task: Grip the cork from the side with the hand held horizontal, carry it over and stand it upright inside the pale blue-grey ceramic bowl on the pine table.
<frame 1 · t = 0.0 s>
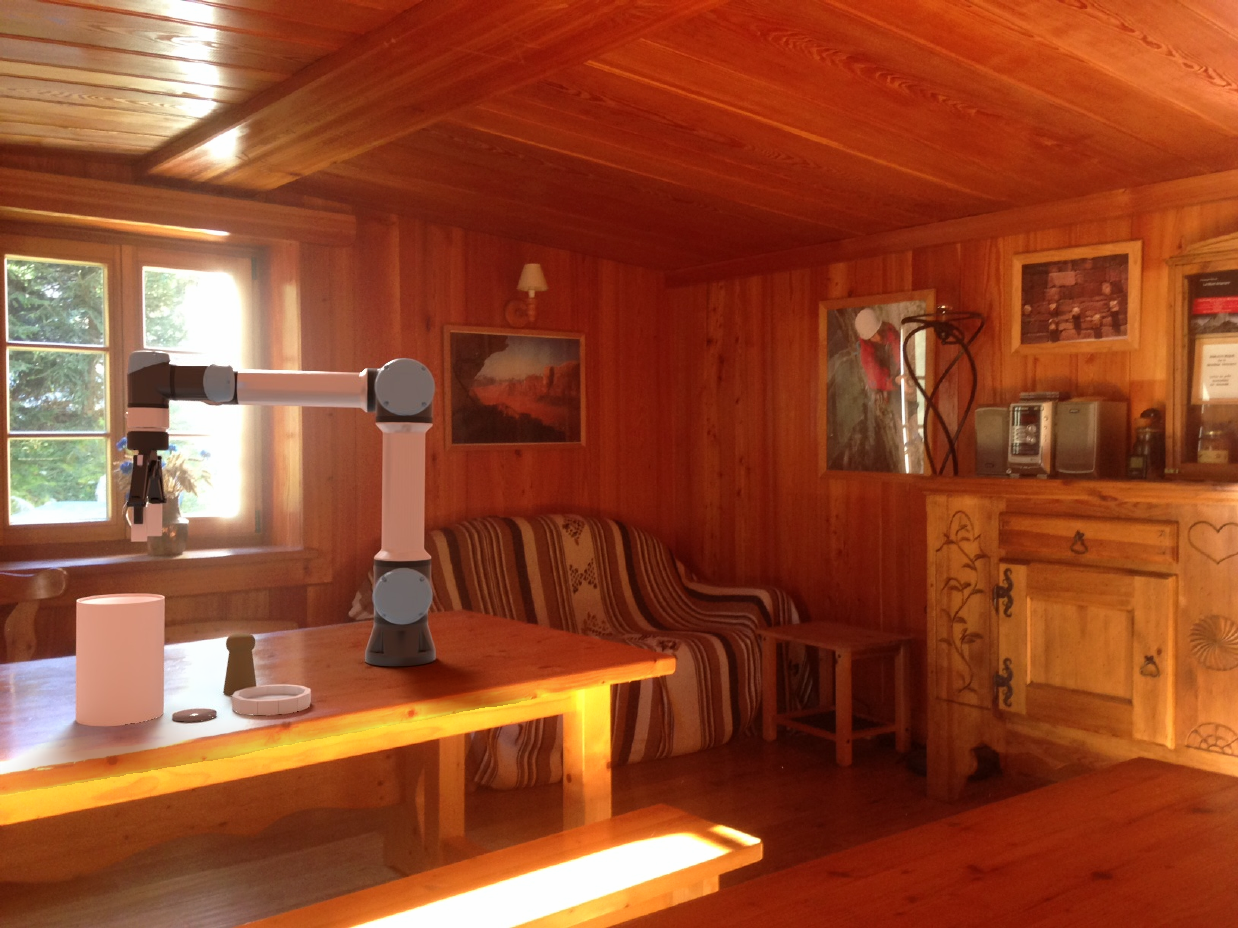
hand: (147, 538, 204), 28 cm above the table, tool pointing down, fingers open, 13 cm apart
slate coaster: (194, 716, 177), on the table
canister: (120, 717, 177), on the table
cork: (240, 692, 196), on the table
bowl: (271, 706, 185), on the table
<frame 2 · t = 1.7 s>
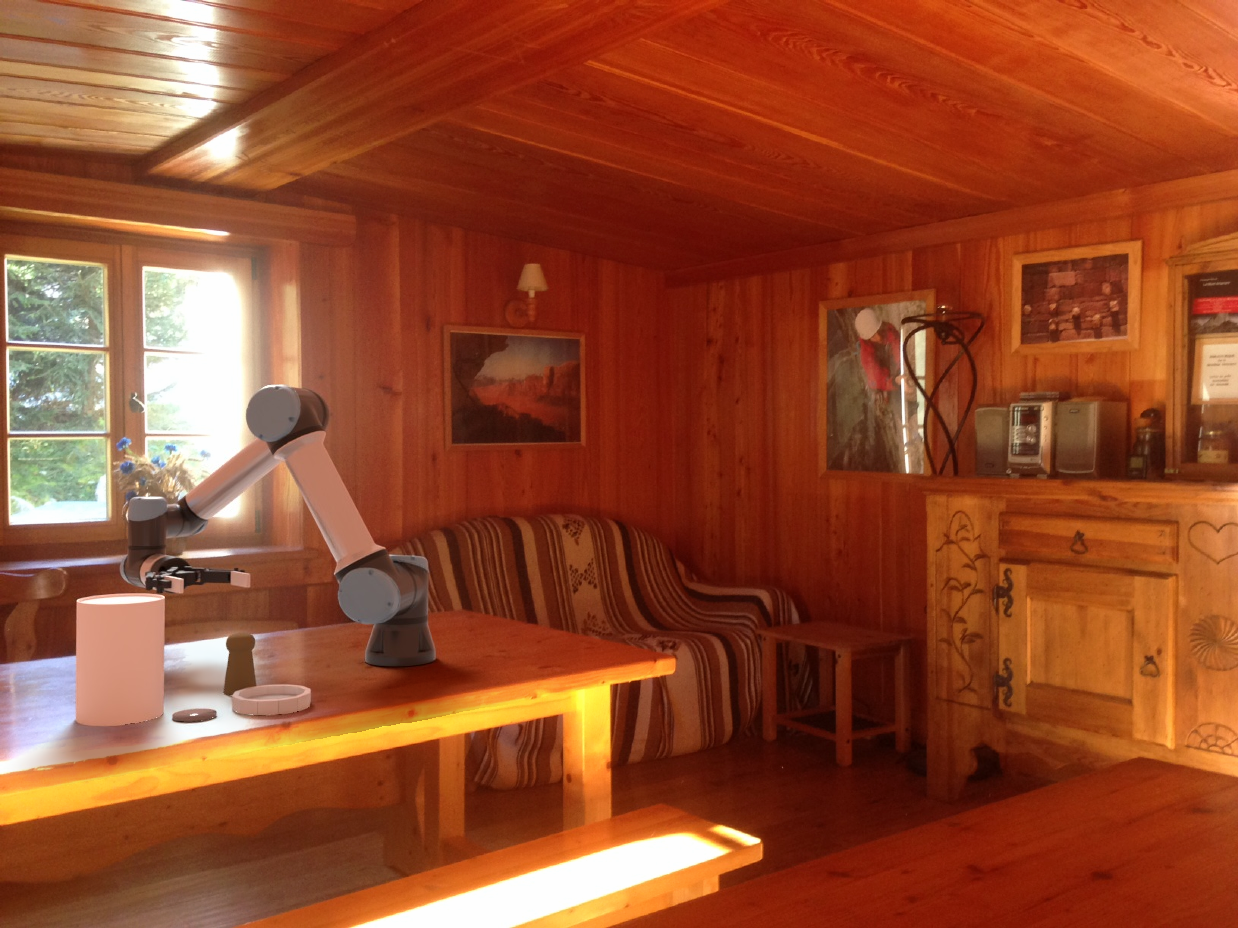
hand: (216, 583, 203), 20 cm above the table, tool horizontal, fingers open, 13 cm apart
nothing on the table moved.
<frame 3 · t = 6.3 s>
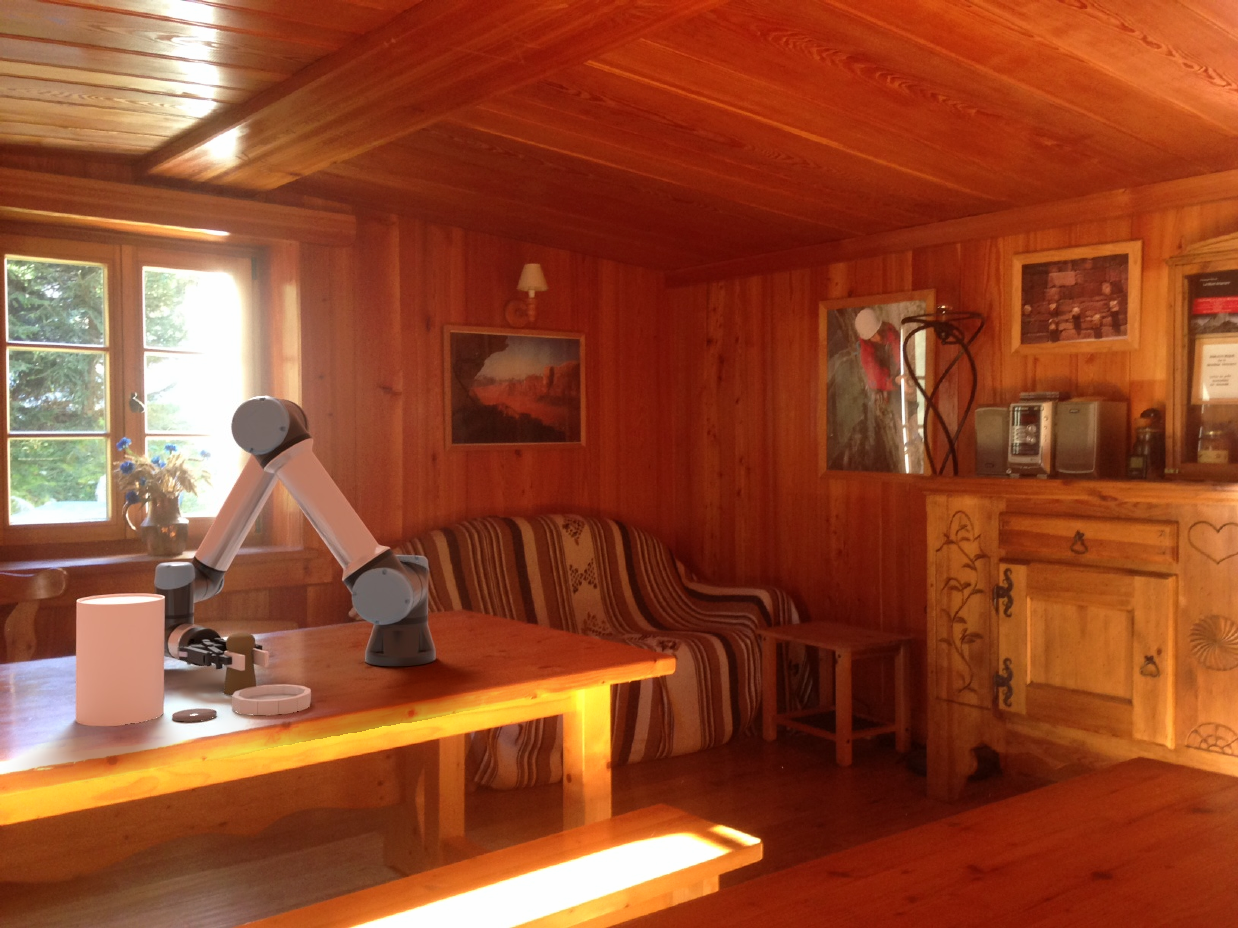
hand: (254, 661, 193), 7 cm above the table, tool horizontal, fingers closed on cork, 4 cm apart
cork: (240, 692, 196), on the table, touching gripper
everything else where it was.
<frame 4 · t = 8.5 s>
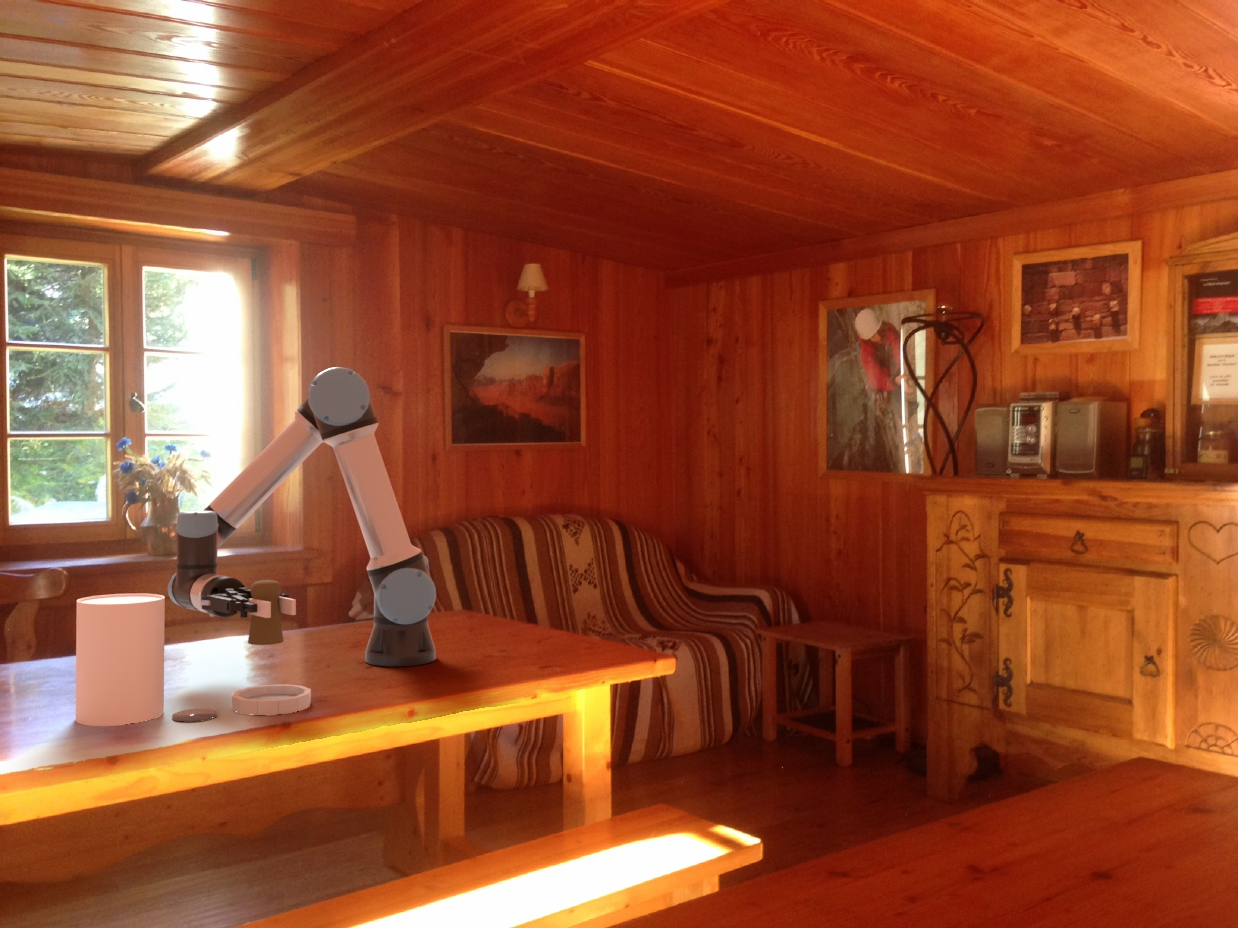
hand: (281, 608, 182), 18 cm above the table, tool horizontal, fingers closed on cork, 4 cm apart
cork: (265, 642, 186), point 11 cm above the table, touching gripper
everything else where it was.
when the fingers open (9 cm above the table, at t = 11.0 s): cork drops 1 cm, resting on bowl.
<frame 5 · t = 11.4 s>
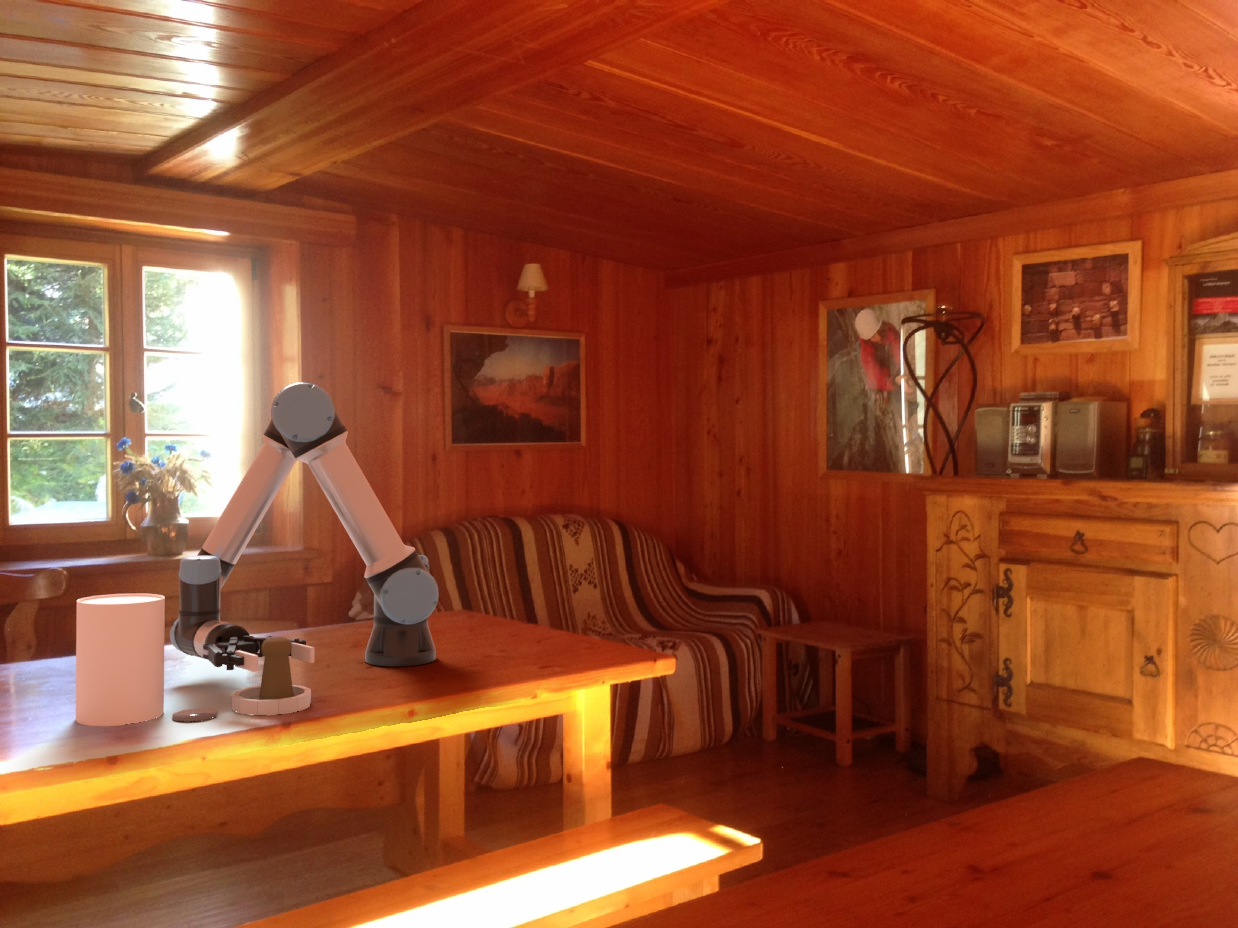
hand: (284, 659, 182), 9 cm above the table, tool horizontal, fingers open, 10 cm apart
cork: (276, 700, 186), point 1 cm above the table, touching bowl
everything else where it was.
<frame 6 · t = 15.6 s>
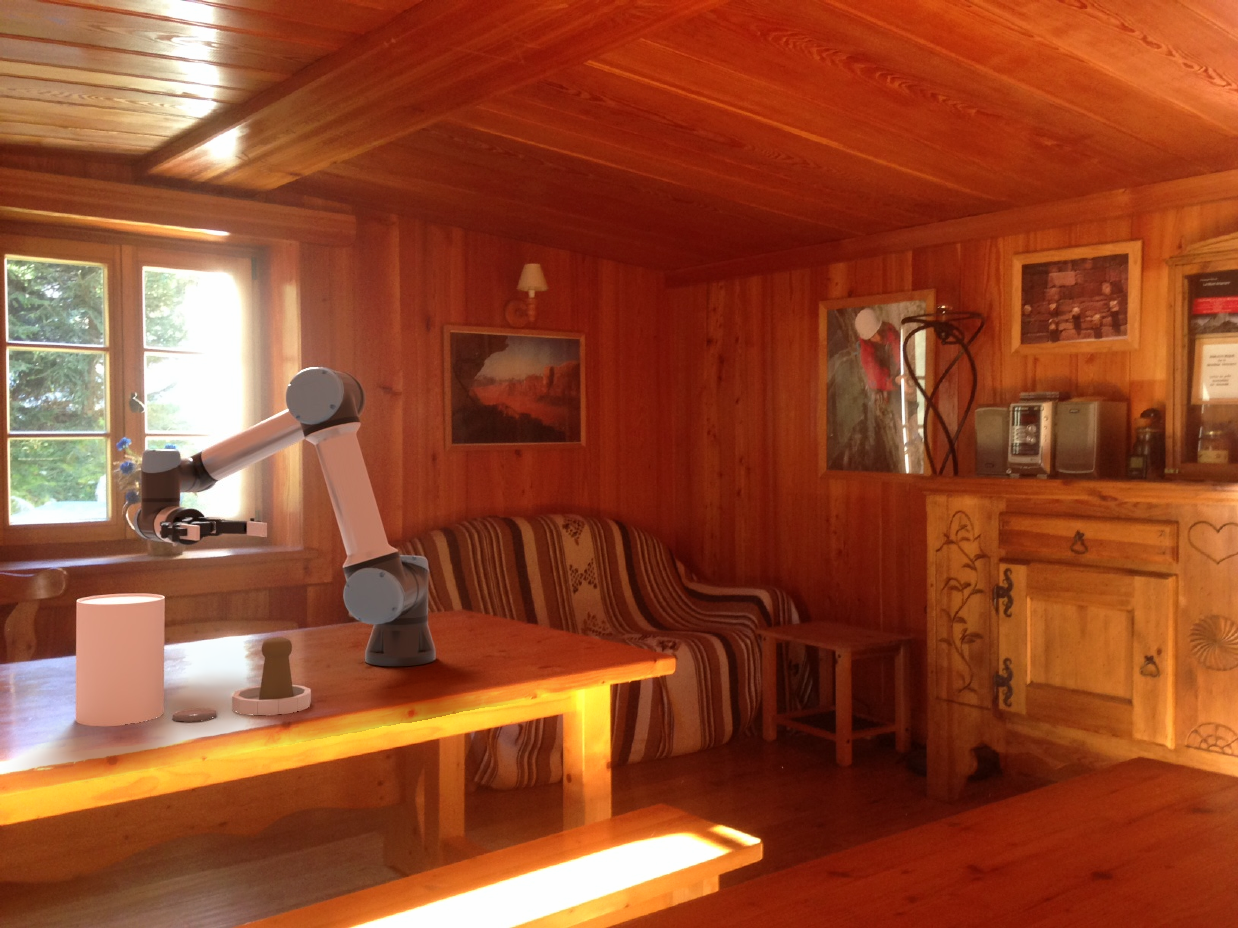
hand: (232, 531, 199), 30 cm above the table, tool horizontal, fingers open, 13 cm apart
nothing on the table moved.
at the end: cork inside the target area on the bowl (1.1 cm from its centre), point 0.8 cm above the bowl's base; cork tilted 0°; the gripper is holding nothing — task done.
